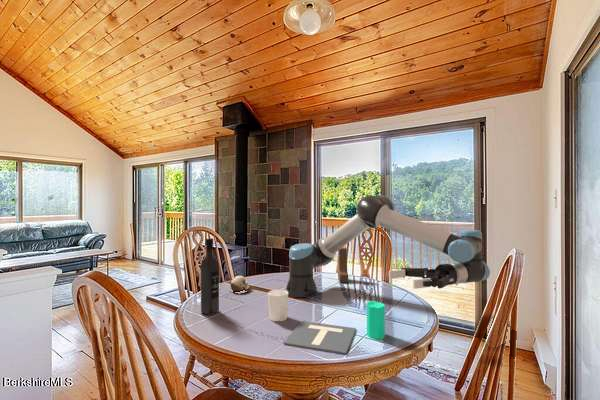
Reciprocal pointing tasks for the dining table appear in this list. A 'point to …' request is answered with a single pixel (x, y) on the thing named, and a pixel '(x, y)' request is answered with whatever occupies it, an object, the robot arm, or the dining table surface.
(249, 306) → the dining table surface
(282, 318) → the white cup
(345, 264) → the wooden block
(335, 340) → the letter pad
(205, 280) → the black olive oil bottle
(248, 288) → the skull
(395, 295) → the dining table surface
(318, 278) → the dining table surface
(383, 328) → the candle
